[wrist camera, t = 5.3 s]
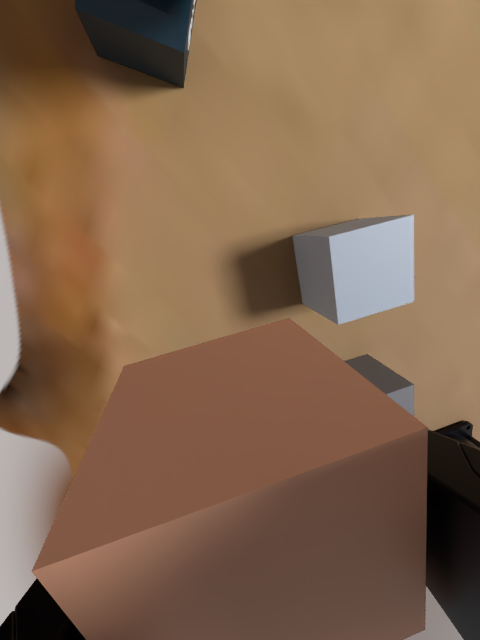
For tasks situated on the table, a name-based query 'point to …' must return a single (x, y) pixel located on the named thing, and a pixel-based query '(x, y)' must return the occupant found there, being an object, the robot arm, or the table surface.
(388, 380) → the charcoal cube
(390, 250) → the slate cube
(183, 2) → the watch
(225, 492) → the terracotta cube
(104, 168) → the table surface
